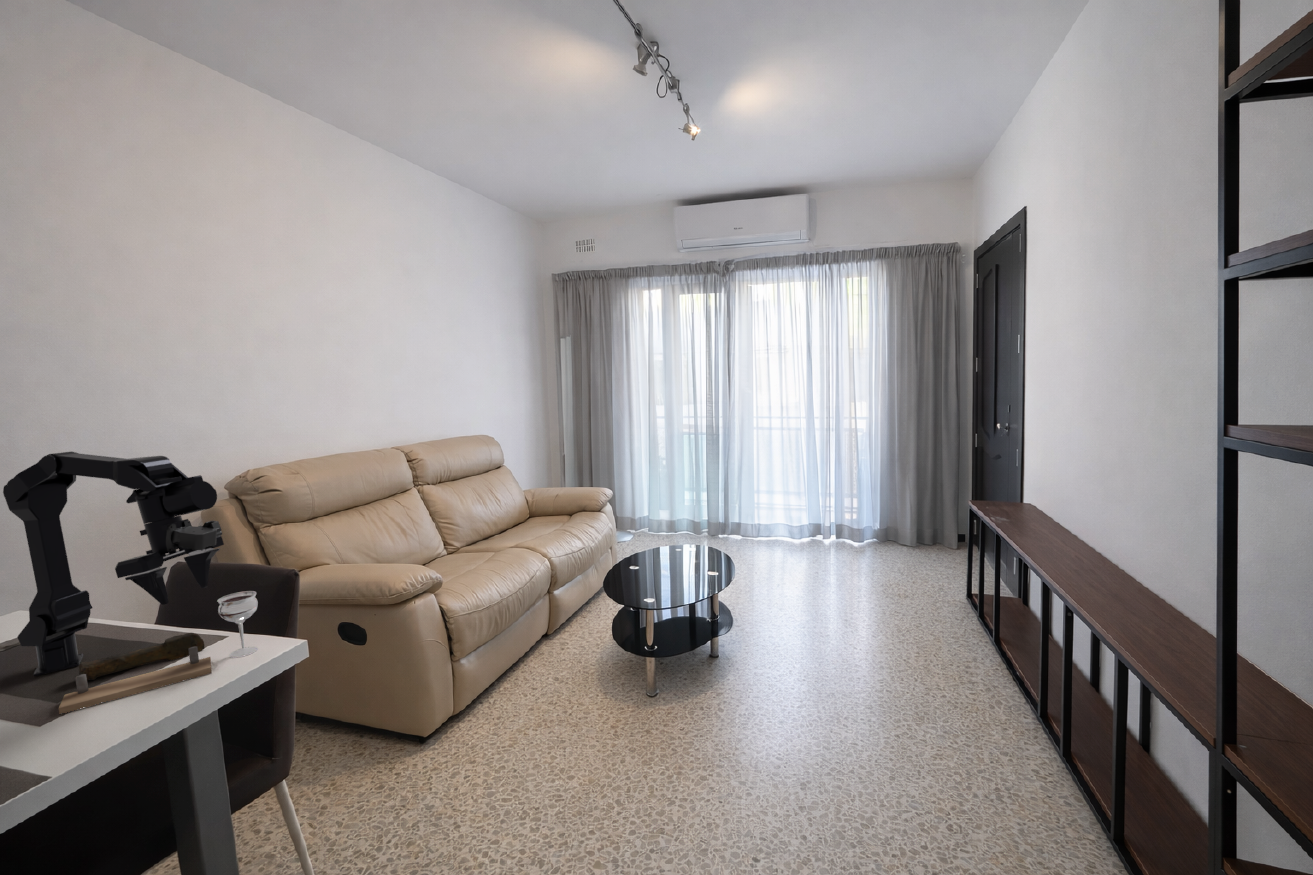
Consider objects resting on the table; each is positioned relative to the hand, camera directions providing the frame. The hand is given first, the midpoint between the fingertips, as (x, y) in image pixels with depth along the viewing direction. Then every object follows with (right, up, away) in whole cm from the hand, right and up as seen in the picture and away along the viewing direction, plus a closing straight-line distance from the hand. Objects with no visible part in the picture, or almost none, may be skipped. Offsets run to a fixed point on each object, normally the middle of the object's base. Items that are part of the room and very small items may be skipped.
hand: (185, 595), depth 115 cm
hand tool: (-11, -15, +4) cm, 19 cm away
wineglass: (+6, -14, +7) cm, 17 cm away
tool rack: (-4, -16, -6) cm, 17 cm away
